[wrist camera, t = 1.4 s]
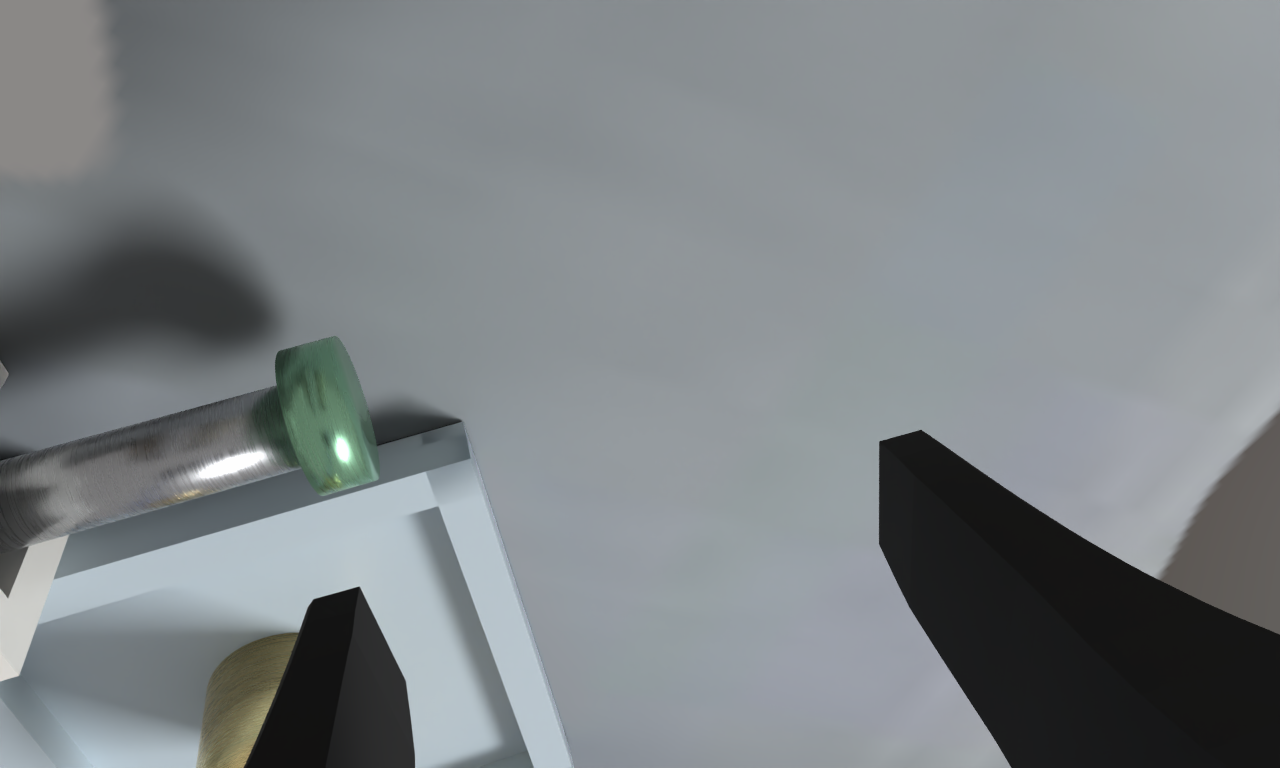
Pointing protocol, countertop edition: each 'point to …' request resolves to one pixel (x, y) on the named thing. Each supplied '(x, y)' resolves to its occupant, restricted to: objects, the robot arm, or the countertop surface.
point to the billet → (241, 700)
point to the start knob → (199, 452)
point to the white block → (23, 593)
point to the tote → (287, 616)
